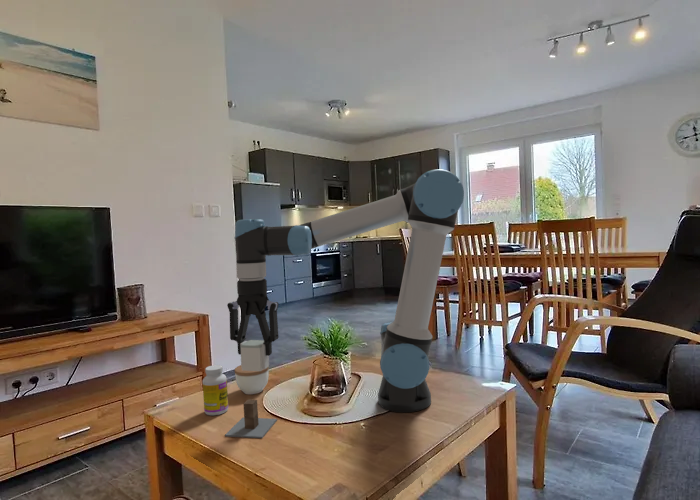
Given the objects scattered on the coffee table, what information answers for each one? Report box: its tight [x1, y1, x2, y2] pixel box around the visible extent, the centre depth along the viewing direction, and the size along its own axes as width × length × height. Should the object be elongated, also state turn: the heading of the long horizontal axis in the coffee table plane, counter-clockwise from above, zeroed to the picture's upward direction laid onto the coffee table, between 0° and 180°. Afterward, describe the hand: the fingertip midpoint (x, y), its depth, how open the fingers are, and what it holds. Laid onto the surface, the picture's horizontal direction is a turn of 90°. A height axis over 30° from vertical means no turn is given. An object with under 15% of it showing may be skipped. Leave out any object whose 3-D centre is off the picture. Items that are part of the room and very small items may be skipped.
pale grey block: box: [240, 339, 264, 371], centre depth 113 cm, size 5×5×7 cm
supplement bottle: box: [202, 364, 229, 416], centre depth 124 cm, size 7×7×13 cm
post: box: [243, 399, 259, 429], centre depth 112 cm, size 3×3×7 cm
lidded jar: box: [234, 364, 270, 395], centre depth 139 cm, size 11×11×9 cm
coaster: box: [224, 416, 278, 439], centre depth 112 cm, size 10×10×1 cm
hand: (255, 366), depth 113 cm, fingers closed on pale grey block, 5 cm apart
